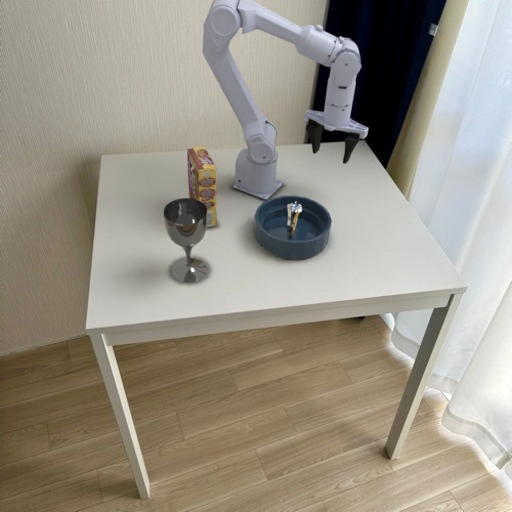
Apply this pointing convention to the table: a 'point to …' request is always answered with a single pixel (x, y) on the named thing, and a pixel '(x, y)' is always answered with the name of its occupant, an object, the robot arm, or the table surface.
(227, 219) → the table surface
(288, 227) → the ring
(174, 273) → the wine glass
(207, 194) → the candy box
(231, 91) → the robot arm
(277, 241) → the bowl
